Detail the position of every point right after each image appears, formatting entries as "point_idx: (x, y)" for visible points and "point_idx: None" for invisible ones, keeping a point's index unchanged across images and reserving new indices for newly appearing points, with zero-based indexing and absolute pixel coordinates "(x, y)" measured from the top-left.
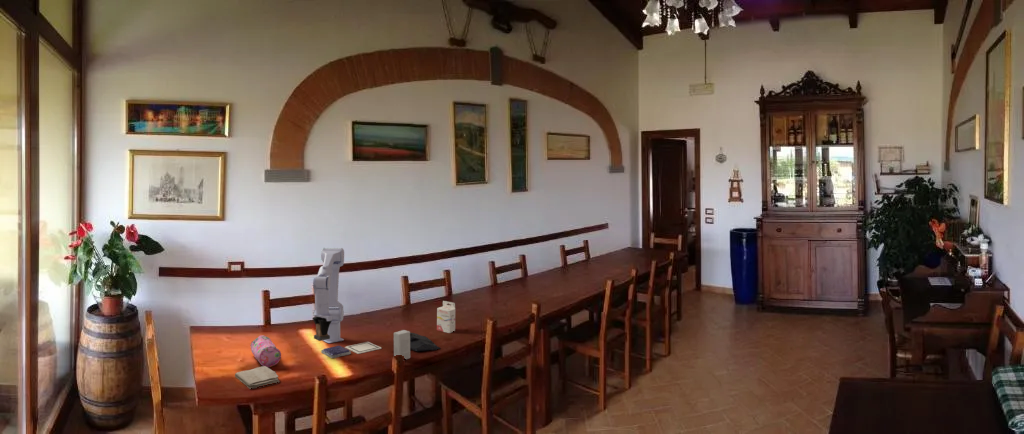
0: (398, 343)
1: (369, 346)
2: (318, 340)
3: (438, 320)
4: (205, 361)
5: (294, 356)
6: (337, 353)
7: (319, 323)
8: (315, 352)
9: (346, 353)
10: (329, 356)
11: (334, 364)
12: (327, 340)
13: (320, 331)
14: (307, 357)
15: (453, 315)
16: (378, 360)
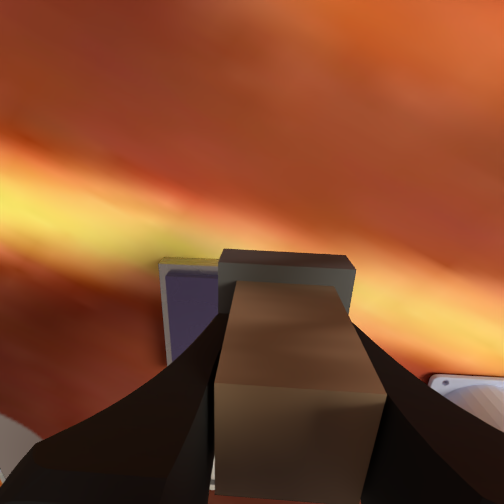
0: None
1: (213, 465)
2: (238, 250)
3: None
4: None
5: (384, 80)
6: (168, 304)
7: (367, 447)
8: (346, 241)
9: (167, 345)
10: (198, 260)
11: (48, 212)
12: (467, 389)
13: (229, 325)
14: (290, 147)
15: None
16: (4, 396)
